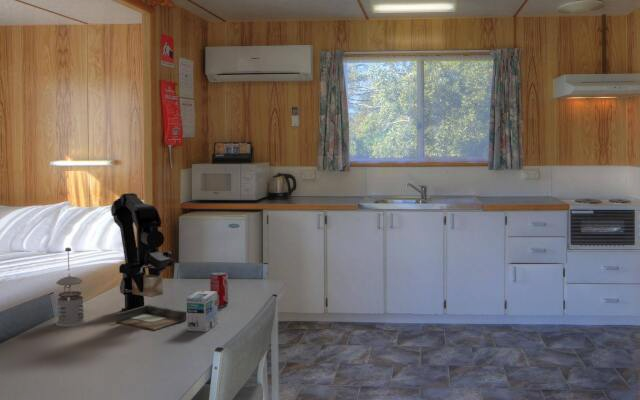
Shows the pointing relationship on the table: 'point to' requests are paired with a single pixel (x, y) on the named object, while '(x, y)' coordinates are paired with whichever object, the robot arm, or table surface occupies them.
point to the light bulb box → (202, 311)
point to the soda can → (220, 287)
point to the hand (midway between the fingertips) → (147, 290)
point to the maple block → (149, 286)
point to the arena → (151, 317)
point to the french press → (70, 302)
